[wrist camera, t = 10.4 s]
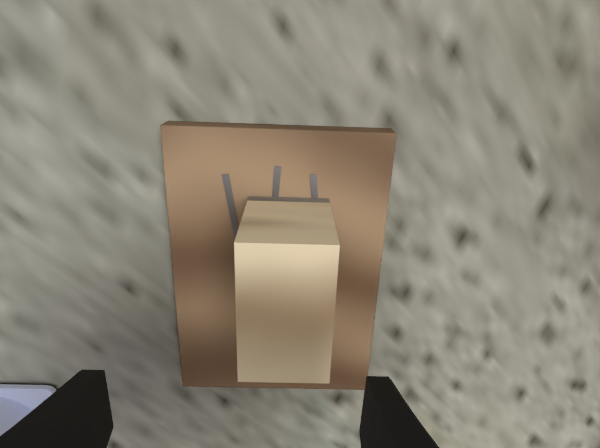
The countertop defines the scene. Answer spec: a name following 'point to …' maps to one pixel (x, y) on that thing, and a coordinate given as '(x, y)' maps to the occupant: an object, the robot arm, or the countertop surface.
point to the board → (227, 216)
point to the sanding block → (285, 290)
